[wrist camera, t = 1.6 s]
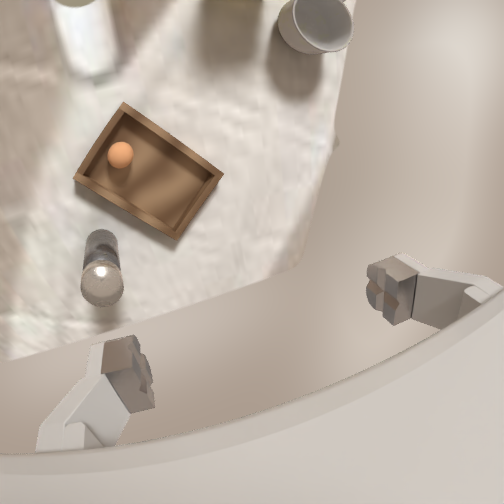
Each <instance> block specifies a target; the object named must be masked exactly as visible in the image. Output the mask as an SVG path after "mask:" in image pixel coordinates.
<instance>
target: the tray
mask: <svg viewBox="0 0 504 504" xmlns="http://www.w3.org/2000/svg"><path fill="white" fill-rule="evenodd" d="M117 142H126V143H128V144H129V145H130V146H131V147H132V149H133V153H134V156H133V160H132V162H131V163H130V164H129V165H128V166H127V167H125V168H115V167H113V166H112V165H111V164H110V163H109V161H108V157H107V154H108V151H109V149H110V147H111V146H112V145H113V144H115V143H117ZM223 175H224V173H222V172H221V171H220V170H218V169H217V168H216V167H214V166H213V165H212V164H210V163H209V162H208V161H206V160H205V159H204V158H202V157H201V156H199V155H198V154H197V153H195V152H194V151H193V150H191V149H190V148H188V147H187V146H186V145H184V144H183V143H182V142H180V141H179V140H177V139H176V138H175V137H173V136H172V135H170V134H169V133H168V132H166V131H165V130H163V129H162V128H161V127H159V126H158V125H156V124H155V123H154V122H152V121H151V120H149V119H148V118H146V117H145V116H144V115H142V114H141V113H139V112H138V111H136V110H135V109H133V108H132V107H130V106H129V105H128V104H126V103H125V102H123V103H122V104H121V106H120V107H119V108H118V110H117V111H116V113H115V114H114V115H113V117H112V118H111V120H110V121H109V122H108V124H107V125H106V127H105V128H104V130H103V131H102V133H101V134H100V136H99V137H98V139H97V140H96V142H95V143H94V145H93V146H92V148H91V149H90V151H89V152H88V154H87V156H86V157H85V159H84V160H83V162H82V164H81V165H80V167H79V169H78V170H77V172H76V174H75V175H74V177H73V179H75V180H76V181H78V182H79V183H81V184H83V185H84V186H86V187H88V188H89V189H91V190H92V191H94V192H96V193H97V194H99V195H101V196H102V197H104V198H106V199H107V200H109V201H111V202H112V203H114V204H116V205H117V206H119V207H121V208H122V209H124V210H126V211H127V212H129V213H131V214H132V215H134V216H136V217H137V218H139V219H141V220H142V221H144V222H146V223H148V224H149V225H151V226H153V227H154V228H156V229H158V230H159V231H161V232H163V233H165V234H166V235H168V236H170V237H171V238H173V239H175V240H178V239H179V237H180V236H181V234H182V233H183V231H184V230H185V228H186V227H187V225H188V224H189V223H190V221H191V220H192V218H193V217H194V215H195V214H196V212H197V211H198V210H199V208H200V207H201V205H202V204H203V203H204V201H205V200H206V198H207V197H208V196H209V194H210V193H211V191H212V190H213V189H214V187H215V186H216V185H217V183H218V182H219V180H220V179H221V178H222V176H223Z"/></svg>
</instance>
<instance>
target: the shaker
mask: <svg viewBox="0 0 504 504" xmlns="http://www.w3.org/2000/svg"><path fill="white" fill-rule="evenodd" d="M123 290H124V286H123V278H122V274H121V269H120V261H119V253H118V244H117V239H116V237H115V236H114V234H113V233H111V232H110V231H108V230H104V229H99V230H96V231H94V232H92V233H91V234H90V235H89V236H88V238H87V241H86V247H85V255H84V264H83V272H82V276H81V292H82V295H83V297H84V298H85V299H86V300H87V301H88V302H89V303H91V304H92V305H95V306H99V307H106V306H110V305H112V304H114V303H116V302H117V301H118V300H119V299H120V298H121V296H122V294H123Z"/></svg>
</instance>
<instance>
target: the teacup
mask: <svg viewBox="0 0 504 504" xmlns="http://www.w3.org/2000/svg"><path fill="white" fill-rule="evenodd" d="M344 1H345V0H290V1H289V2H287V3H286V4H285V5H284V6H283V7H282V9H281V11H280V13H279V16H278V28H279V31H280V34H281V36H282V37H283V39H284V40H285V42H286V43H287V44H288V45H289V46H291V47H292V48H293V49H295V50H297V51H299V52H302V53H305V54H322V53H328V52H336V51H340V50H342V49H344V48H345V47H346V46H347V45H348V44H349V43H350V41H351V39H352V37H353V33H354V23H353V19H352V16H351V14H350V12H349V10H348V9H347V7H346V6H345V4H344V3H343V2H344Z"/></svg>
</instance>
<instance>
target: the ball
mask: <svg viewBox="0 0 504 504" xmlns="http://www.w3.org/2000/svg"><path fill="white" fill-rule="evenodd" d="M133 156H134V153H133V149H132V147H131V146H130V145H129V144H128V143H126V142H117V143H115V144H113V145H112V146H111V147H110V149H109V151H108V154H107V157H108V161H109V163H110V164H111V165H112V166H113V167H115V168H125V167H127V166H128V165H129V164H130V163H131V162H132V160H133Z"/></svg>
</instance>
